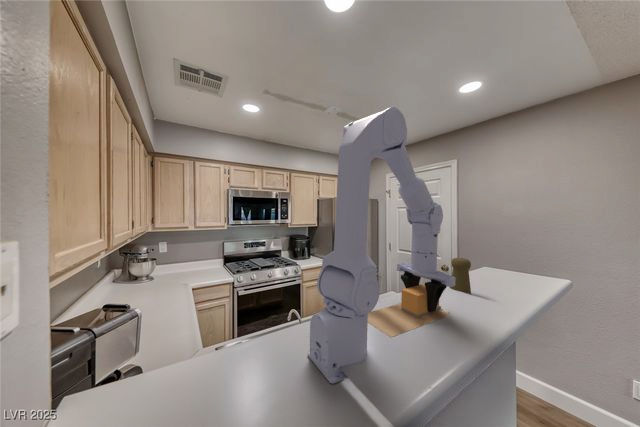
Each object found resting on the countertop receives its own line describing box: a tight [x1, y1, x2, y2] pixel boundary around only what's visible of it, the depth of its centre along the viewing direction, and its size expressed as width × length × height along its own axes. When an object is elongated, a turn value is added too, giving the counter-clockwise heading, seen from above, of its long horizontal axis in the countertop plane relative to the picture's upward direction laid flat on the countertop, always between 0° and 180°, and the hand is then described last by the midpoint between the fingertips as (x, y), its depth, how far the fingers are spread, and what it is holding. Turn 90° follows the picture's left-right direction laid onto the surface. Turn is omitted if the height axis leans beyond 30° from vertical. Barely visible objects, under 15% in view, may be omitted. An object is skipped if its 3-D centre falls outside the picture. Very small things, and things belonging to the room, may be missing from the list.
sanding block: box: [401, 283, 440, 318], centre depth 56 cm, size 8×4×5 cm, turn 120°
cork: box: [449, 257, 472, 296], centre depth 72 cm, size 6×6×11 cm
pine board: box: [368, 303, 452, 338], centre depth 53 cm, size 20×10×2 cm, turn 120°
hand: (422, 306), depth 56 cm, fingers closed on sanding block, 4 cm apart
